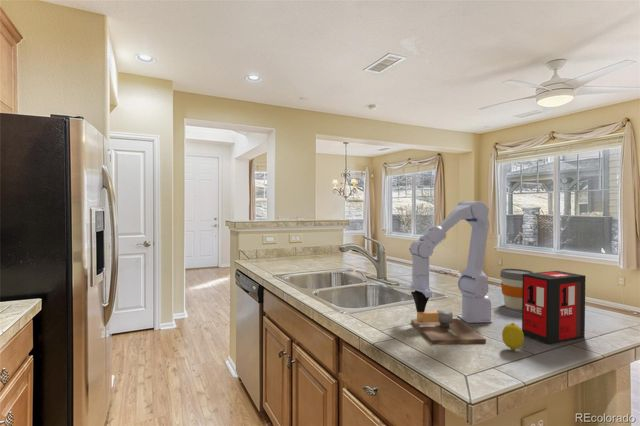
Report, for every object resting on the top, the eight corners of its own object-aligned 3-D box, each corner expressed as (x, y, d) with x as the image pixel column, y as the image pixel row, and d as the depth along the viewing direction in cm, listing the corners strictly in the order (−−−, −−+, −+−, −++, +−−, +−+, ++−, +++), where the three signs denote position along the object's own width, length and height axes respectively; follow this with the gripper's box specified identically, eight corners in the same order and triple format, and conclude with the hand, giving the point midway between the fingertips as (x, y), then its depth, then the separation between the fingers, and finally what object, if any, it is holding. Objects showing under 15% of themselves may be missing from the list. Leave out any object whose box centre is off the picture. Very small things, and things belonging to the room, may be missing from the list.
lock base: (457, 321, 122) (457, 314, 122) (485, 342, 103) (485, 334, 103) (411, 322, 121) (411, 315, 121) (431, 344, 102) (431, 335, 102)
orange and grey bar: (448, 318, 117) (448, 309, 117) (455, 323, 112) (455, 314, 112) (414, 319, 116) (414, 310, 116) (419, 324, 111) (419, 315, 111)
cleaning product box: (548, 344, 102) (549, 279, 102) (521, 334, 111) (522, 273, 110) (584, 337, 108) (585, 275, 108) (556, 328, 116) (557, 270, 116)
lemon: (497, 346, 101) (498, 320, 101) (515, 346, 101) (515, 319, 101) (509, 354, 95) (510, 326, 95) (528, 354, 96) (528, 326, 96)
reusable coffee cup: (534, 313, 133) (535, 275, 133) (498, 307, 140) (499, 272, 139) (534, 305, 144) (534, 270, 144) (500, 300, 150) (501, 267, 150)
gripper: (402, 270, 126) (402, 306, 126) (417, 278, 111) (417, 319, 112) (421, 270, 126) (420, 306, 127) (438, 278, 112) (437, 318, 112)
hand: (420, 312), depth 119 cm, fingers closed
